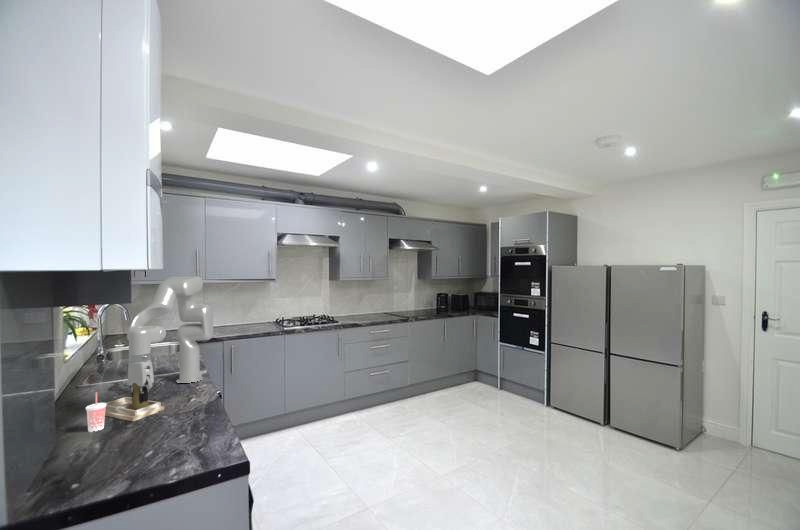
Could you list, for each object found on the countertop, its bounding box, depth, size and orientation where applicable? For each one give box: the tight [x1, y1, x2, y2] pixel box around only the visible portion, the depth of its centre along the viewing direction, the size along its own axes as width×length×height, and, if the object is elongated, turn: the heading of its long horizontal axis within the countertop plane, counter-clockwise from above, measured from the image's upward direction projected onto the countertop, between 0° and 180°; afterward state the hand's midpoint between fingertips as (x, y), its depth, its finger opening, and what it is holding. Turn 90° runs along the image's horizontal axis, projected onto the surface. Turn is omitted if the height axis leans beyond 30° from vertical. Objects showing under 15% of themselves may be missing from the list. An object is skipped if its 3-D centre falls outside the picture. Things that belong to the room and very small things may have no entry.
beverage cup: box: [85, 391, 107, 433], centre depth 136 cm, size 6×6×14 cm
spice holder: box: [105, 396, 165, 422], centre depth 153 cm, size 13×24×4 cm, turn 69°
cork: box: [131, 383, 148, 409], centre depth 151 cm, size 6×6×11 cm
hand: (139, 401), depth 151 cm, fingers closed on cork, 4 cm apart
